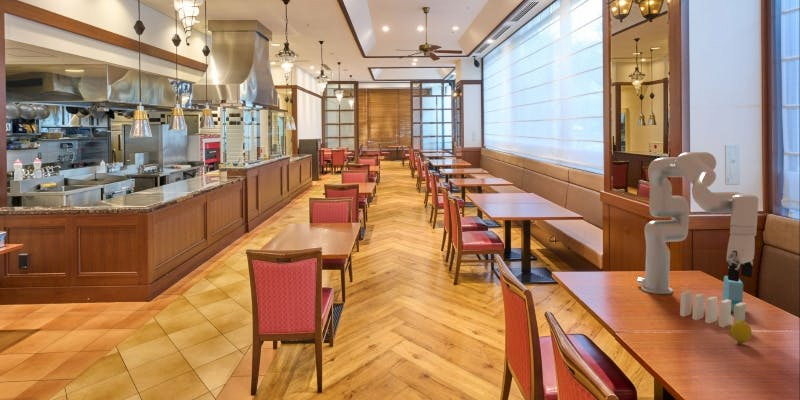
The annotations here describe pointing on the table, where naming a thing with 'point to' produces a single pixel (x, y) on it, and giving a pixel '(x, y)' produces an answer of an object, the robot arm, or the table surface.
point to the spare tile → (739, 312)
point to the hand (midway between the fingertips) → (740, 278)
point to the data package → (732, 291)
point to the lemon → (741, 332)
